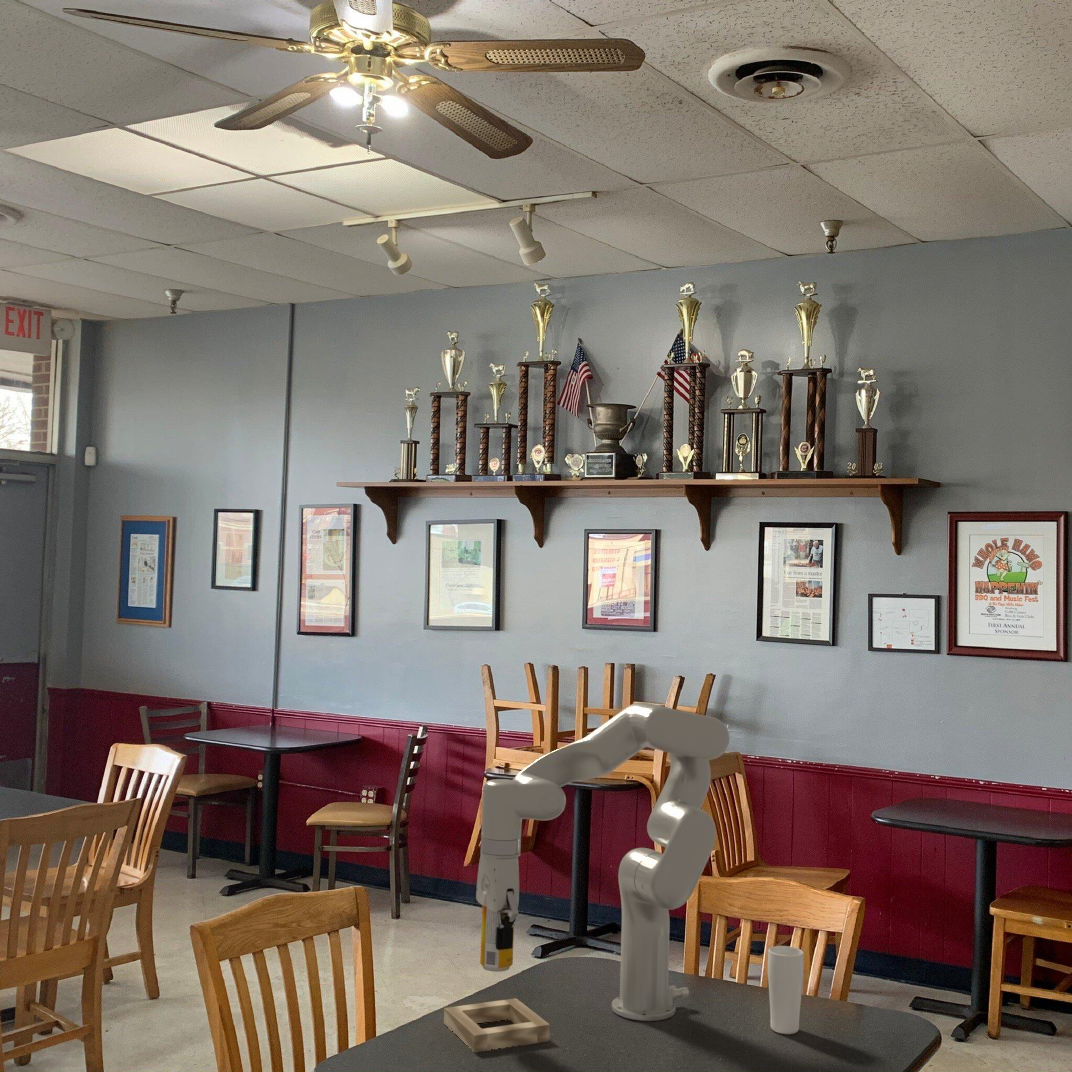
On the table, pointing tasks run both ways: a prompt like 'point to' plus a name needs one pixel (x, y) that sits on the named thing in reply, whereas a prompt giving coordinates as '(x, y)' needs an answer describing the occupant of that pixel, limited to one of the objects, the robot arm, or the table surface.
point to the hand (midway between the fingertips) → (496, 942)
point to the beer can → (493, 942)
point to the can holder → (520, 1033)
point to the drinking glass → (785, 987)
